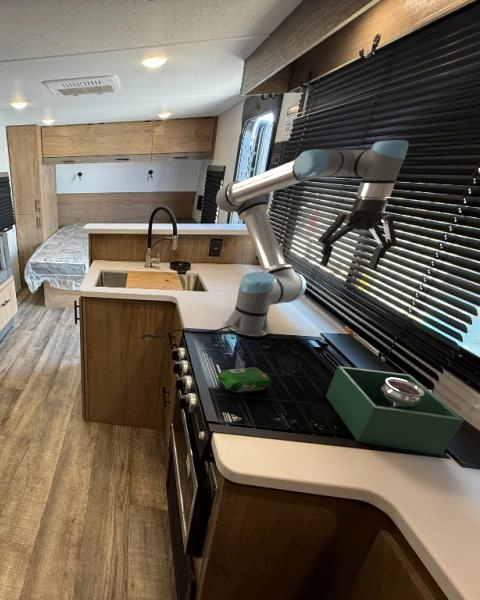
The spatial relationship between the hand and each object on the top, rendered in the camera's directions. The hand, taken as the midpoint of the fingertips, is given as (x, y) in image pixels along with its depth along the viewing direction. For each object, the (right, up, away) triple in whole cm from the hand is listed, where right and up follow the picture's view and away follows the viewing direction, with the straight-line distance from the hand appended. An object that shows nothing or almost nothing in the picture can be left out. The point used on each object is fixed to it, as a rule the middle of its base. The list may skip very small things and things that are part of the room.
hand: (347, 266), depth 100 cm
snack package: (-38, -38, -7) cm, 54 cm away
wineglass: (-9, -43, -21) cm, 49 cm away
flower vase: (+15, -3, +74) cm, 75 cm away
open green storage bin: (-10, -43, -20) cm, 49 cm away
